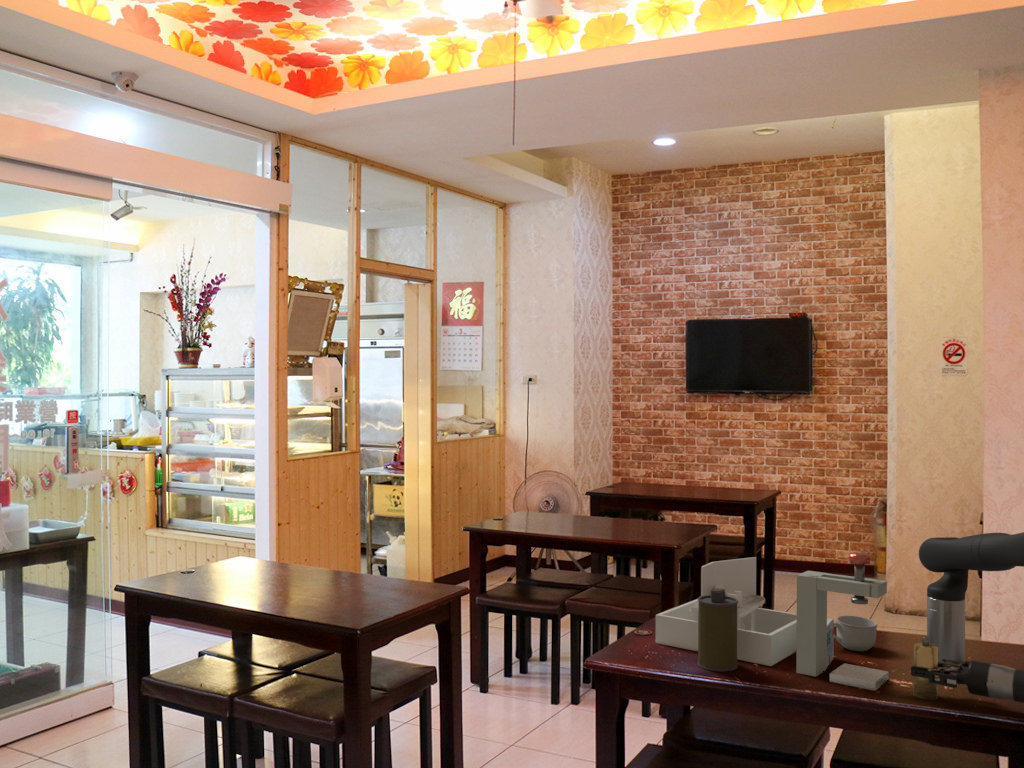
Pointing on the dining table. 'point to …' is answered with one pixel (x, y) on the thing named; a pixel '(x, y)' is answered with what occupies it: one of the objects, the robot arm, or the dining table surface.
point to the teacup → (856, 632)
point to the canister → (717, 631)
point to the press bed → (859, 676)
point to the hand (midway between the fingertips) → (915, 666)
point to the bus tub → (759, 646)
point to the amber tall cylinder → (927, 659)
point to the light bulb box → (830, 640)
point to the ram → (859, 573)
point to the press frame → (822, 614)
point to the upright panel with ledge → (734, 587)
